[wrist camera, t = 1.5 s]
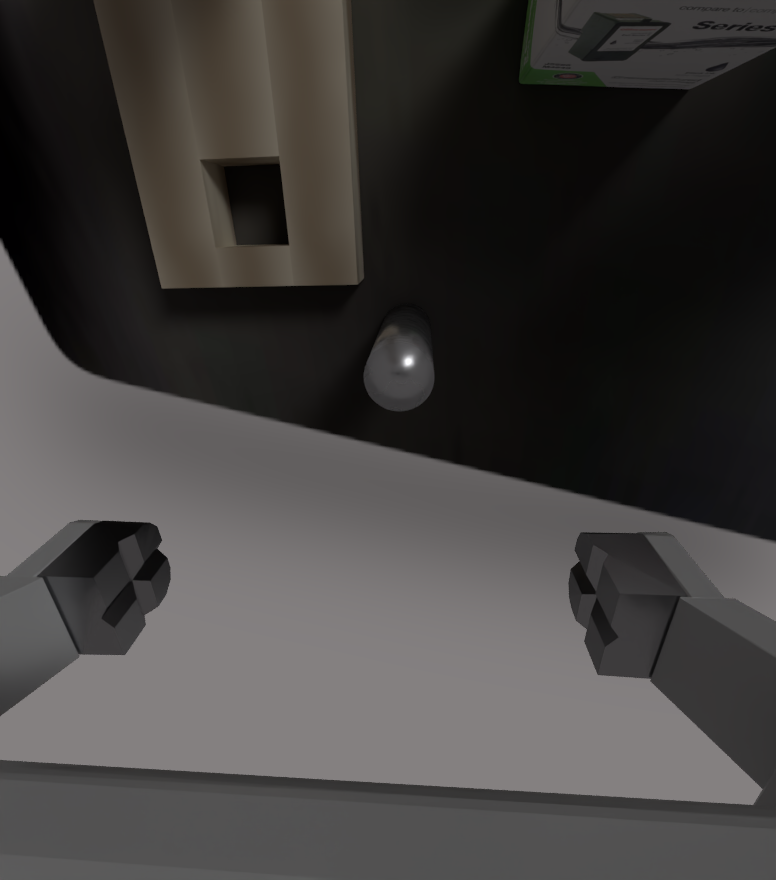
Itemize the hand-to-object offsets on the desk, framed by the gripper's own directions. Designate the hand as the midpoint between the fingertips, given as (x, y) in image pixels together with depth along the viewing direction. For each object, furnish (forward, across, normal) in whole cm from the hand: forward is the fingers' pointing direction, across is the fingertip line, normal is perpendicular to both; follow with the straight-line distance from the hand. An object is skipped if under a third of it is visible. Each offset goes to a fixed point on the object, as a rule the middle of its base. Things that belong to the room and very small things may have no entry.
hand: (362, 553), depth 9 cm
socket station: (+21, +8, -12) cm, 26 cm away
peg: (+21, 0, 0) cm, 21 cm away
